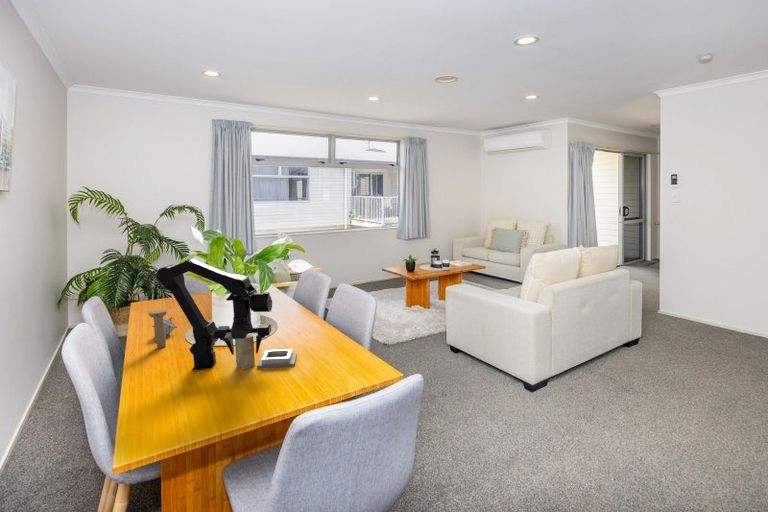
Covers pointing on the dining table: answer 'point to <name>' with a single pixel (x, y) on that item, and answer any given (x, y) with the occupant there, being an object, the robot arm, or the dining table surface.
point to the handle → (159, 327)
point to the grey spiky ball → (168, 326)
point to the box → (245, 352)
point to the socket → (277, 358)
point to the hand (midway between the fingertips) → (245, 353)
